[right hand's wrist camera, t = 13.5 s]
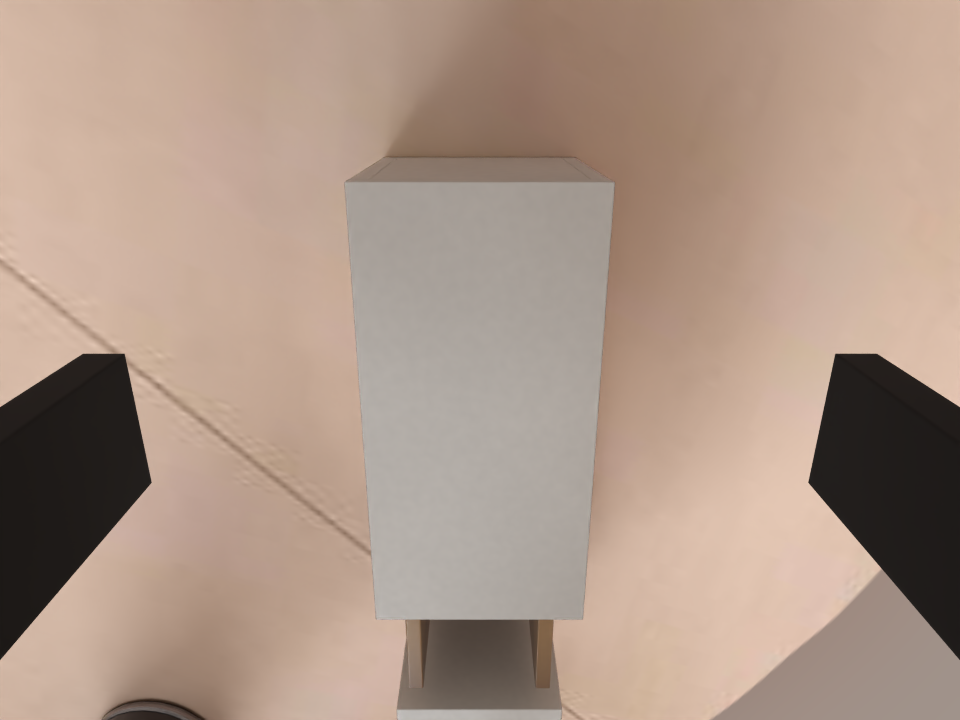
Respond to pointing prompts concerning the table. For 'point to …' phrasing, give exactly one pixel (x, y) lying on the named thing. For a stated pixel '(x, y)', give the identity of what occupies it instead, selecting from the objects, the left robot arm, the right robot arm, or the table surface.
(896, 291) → the table surface
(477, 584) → the cabinet
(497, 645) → the drawer
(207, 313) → the table surface
